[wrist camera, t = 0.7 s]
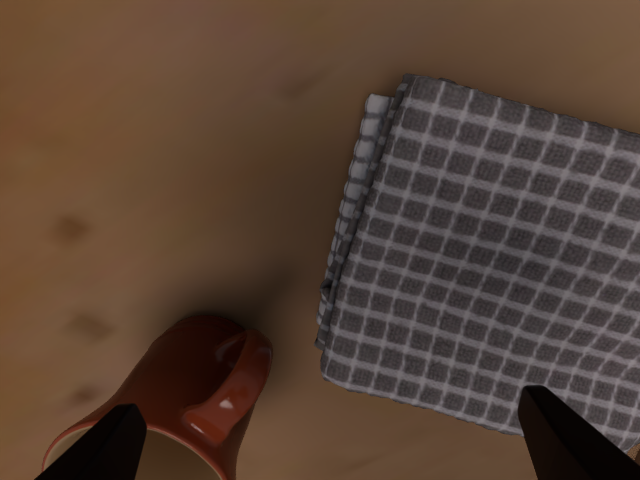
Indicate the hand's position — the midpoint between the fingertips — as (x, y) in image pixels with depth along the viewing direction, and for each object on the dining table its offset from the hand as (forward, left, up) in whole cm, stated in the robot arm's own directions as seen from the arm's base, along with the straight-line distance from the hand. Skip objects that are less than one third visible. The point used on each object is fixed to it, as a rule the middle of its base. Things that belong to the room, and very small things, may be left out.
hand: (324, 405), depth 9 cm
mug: (-9, +7, -15) cm, 19 cm away
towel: (-1, -9, -15) cm, 17 cm away
